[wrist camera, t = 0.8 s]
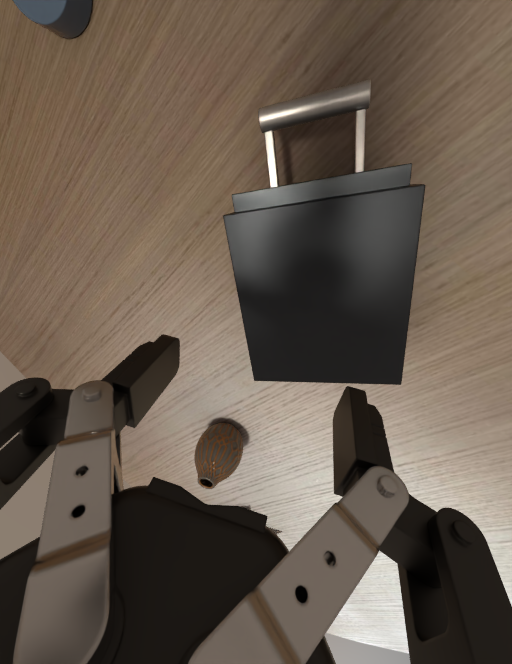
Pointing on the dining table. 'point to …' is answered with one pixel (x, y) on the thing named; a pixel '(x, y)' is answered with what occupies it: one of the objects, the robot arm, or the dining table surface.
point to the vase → (218, 454)
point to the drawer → (344, 185)
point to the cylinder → (58, 15)
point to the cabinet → (328, 285)
